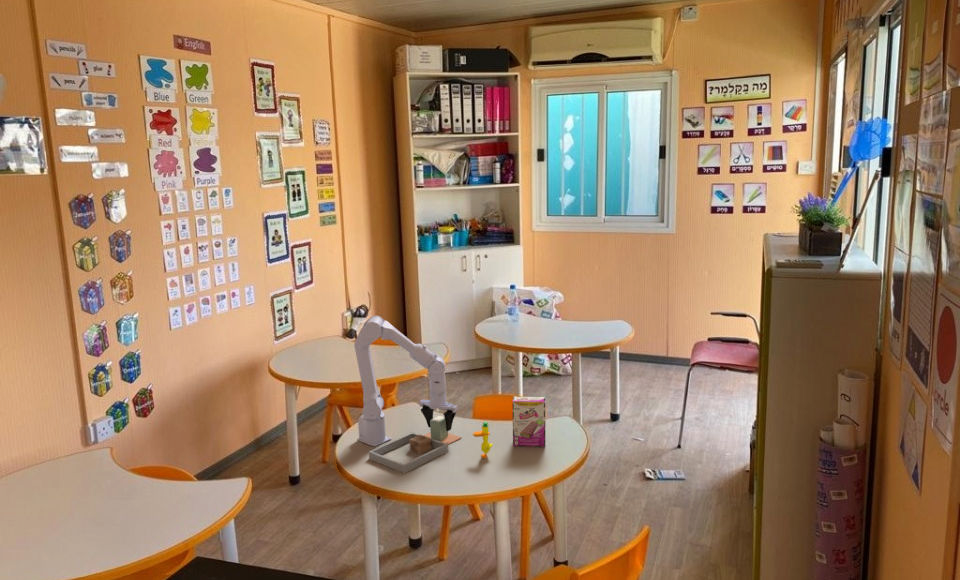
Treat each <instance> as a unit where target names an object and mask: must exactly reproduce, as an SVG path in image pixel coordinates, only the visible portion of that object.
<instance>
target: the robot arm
mask: <svg viewBox="0 0 960 580" xmlns="http://www.w3.org/2000/svg"><path fill="white" fill-rule="evenodd" d="M379 338H380V339H381V341H382V340H384V341H385V340H390V341H392V342H394V343H395V344H397V345H398V346H400V348H402V349H404V350H406V351H407V352H408V354H409V357H410V358H411V359H412V360H414V361H415V362H416V363H418V364H419V365H420V366H422V367H423V368H424V369H427V372H428V375H429V379H428V382H429V399H421V400H420V401H419V407H422V408H420V412H421V414H422V415H423V416H424V419H425V421H426V424H427V427H428V428H430V420H432V419H433V418H434V410H437V409H438V410H443V411H445V412H444V413H443V417H445V421H446V430H447V431H448V432H450V431H451V430H452V426H453V421H454V420H455V416H456V414H457V412H458V411H459V409H458V407H459V406H458V405H457V404H453V403H450V402H448V401H447V399H448V398H447V379H446V373H445V372H446V361H445V358H443V357H442V356H441V355H440V354H439V355H438V354H437V353H434V352H432V351H431V350H430V349H428V348H427V347H428V345H426V344H422V343H414V342H413V341H412V340H411V339H410V338H408V337H407V336H405V334H403V333H402V332H401V331H399V330H398V329H397V328H396V327H395V326H394V325H392V324H391V323H390V322H389V321H388V320H385V319H383V317H381V316H379V315H372V316H371V317H369V318H368V319H367V320H366V321H365V322H364V324H363V325H362V327H361V328H360V329H359V332H358V335H357V336H356V339H355V341H354V349H355V350H354V352H355V355H356V356H355V357H356V361H357V366H358V371H359V372H358V373H359V376H360V381H361V386H362V391H363V393H362V394H363V397H362V398H363V399H362V401H363V408H362V414H361V415H360V416H359V419H358V421H357V422H358V425H357V426H358V428H357V429H358V438H357V439H356V440H357V441H359V442H362V443H363V444H367V445H369V446H371V447H378V446H380V445H382V444H384V443H386V442H388V441H390V440H392V437H390V436H387V434H386V419H385V418H386V417H385V412H384V411H383V408H384V406H385V401H384V398H383V397H382V395H381V392H380V390H379V388H378V384H377V378H376V375H375V369H374V364H373V363H374V362H373V358H372V353H371V348H370V347H371V345H372V343H373V342H375V341H377V340H378V339H379Z"/></svg>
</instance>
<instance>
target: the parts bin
mask: <svg viewBox="0 0 960 580" xmlns="http://www.w3.org/2000/svg"><path fill="white" fill-rule="evenodd" d="M418 435H420V434H419V433H416V432H410V433H407V434H405V435H403V436H401V437H398V438H396V439H394V440H392V441H390V442H387V443H385V444H383V445H381V446H380V445H379V447H378V446H377V447H376V448H374V449H372V450H369V451H368V459H369V460H371V461H373V462H375V463H379V464H380V465H384V466H386V467H389V468H391V469H393V470H395V471H398V472H400V473H403V474H405V473H407V472H409V471H411V470H413V469H415V468H417V467H420V466H421V465H424V464H425V463H428V462H429V461H432V460H434V459H436V458H437V457H439V456H441V455H444V454H446V453H447V452H449V445H448V444H445V443H442V442H440V441H437V440H434V439H431V448H434V449H432V450H429V452H428V451H427V452H426V453H424V454H422V455H420V456H417V457H416V458H414V459H412V460H410V461H407V462H406V463H402V462H401V461H400V462H399V461H396V460H394V459H392V458H390V457H387V456H384V454H386V453H389V452H390V451H392V450H394V449H396V448H398V447H401V446H403V445H405V444H407V443H410V439H412V438H414V437H416V436H418Z"/></svg>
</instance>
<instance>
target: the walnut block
mask: <svg viewBox="0 0 960 580" xmlns="http://www.w3.org/2000/svg"><path fill="white" fill-rule="evenodd" d="M423 435H424V434H423ZM423 435H422V434H419V435H418V436H416V437H414V438H412V439H410V442H409V449H410V451H412V452H414V453H417V454H419V453H420V455H421V453H422V454H423V452H424V453H425V452H426V453H427V452H428V451H430V450H431V449H432V447H431V438H429V437H426V436H423ZM429 449H430V450H429ZM427 450H428V451H427Z"/></svg>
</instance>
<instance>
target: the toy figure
mask: <svg viewBox="0 0 960 580" xmlns="http://www.w3.org/2000/svg"><path fill="white" fill-rule="evenodd" d="M489 435H491V433H490V432H489V423H488V422H487V421H483V422H482V424H481V430H479V431H473V433H472V436H473V437H475V438H480V437H482V443H481V445H480V448H481V449H480V450H481V451H482V452H483V453H482V454H481V455H480V456H481V458H482V459H486V458H489V457H488V453H489V452H490V450H491V449H492V448H493V445H494V443H490V442H489Z"/></svg>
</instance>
